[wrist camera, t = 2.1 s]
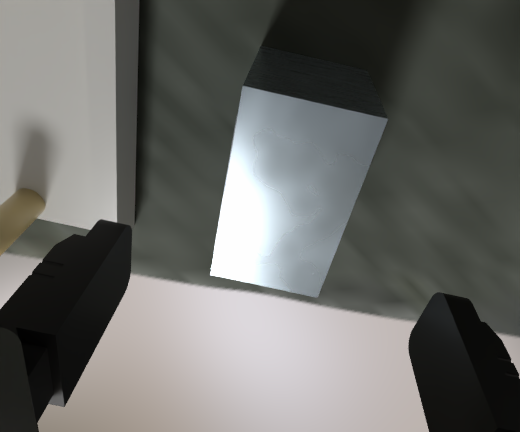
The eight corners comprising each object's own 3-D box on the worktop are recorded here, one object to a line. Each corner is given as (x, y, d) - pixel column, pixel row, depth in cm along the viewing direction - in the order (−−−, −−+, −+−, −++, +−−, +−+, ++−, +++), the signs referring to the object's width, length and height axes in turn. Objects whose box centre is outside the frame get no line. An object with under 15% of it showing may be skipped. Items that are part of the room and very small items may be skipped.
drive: (259, 44, 15) (241, 85, 11) (367, 69, 15) (390, 119, 11) (230, 201, 19) (209, 274, 15) (316, 220, 19) (318, 297, 15)
